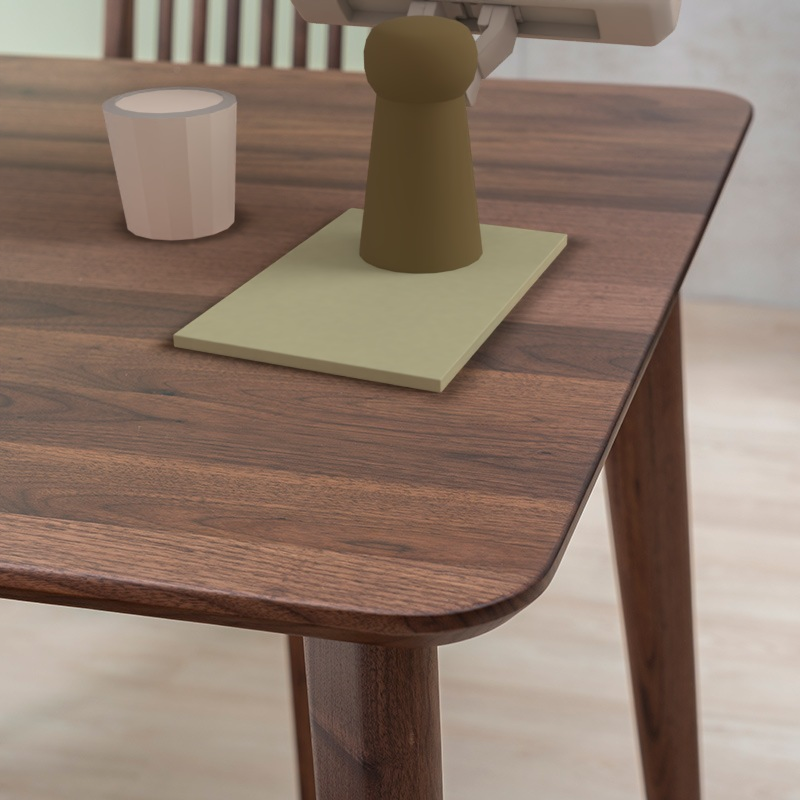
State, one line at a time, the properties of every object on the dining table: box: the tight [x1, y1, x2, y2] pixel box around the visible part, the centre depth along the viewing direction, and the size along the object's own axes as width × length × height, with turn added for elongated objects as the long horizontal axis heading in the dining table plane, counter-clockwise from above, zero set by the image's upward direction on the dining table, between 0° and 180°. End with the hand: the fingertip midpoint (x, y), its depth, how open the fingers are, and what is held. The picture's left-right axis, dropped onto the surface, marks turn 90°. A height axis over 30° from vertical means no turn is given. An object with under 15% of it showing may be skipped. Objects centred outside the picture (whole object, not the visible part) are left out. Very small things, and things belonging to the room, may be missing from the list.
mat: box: [172, 207, 568, 394], centre depth 58 cm, size 18×12×1 cm, turn 158°
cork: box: [359, 15, 483, 274], centre depth 59 cm, size 6×6×11 cm
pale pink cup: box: [101, 86, 238, 241], centre depth 66 cm, size 7×7×7 cm
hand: (440, 98), depth 61 cm, fingers closed
